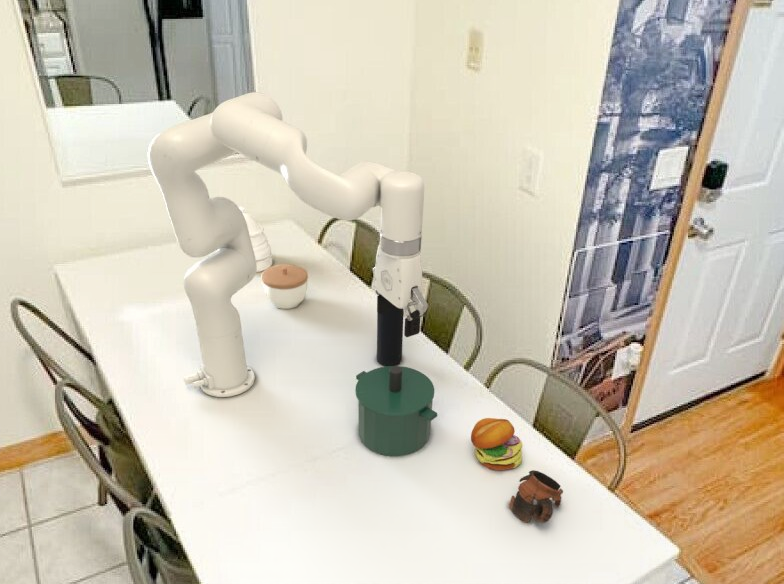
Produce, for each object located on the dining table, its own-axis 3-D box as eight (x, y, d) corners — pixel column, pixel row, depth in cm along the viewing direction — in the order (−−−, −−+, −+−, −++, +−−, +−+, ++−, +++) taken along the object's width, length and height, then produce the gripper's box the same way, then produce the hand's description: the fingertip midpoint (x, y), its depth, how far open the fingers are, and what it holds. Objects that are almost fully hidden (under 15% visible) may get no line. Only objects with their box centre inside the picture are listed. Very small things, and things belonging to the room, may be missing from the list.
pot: (406, 473, 131) (408, 431, 125) (335, 427, 142) (333, 386, 135) (453, 436, 141) (457, 395, 135) (383, 395, 152) (384, 355, 145)
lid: (397, 430, 126) (398, 405, 122) (338, 393, 134) (338, 370, 130) (450, 392, 136) (452, 369, 133) (392, 361, 145) (393, 338, 141)
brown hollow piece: (499, 496, 128) (519, 461, 126) (537, 509, 131) (557, 476, 130) (520, 531, 117) (542, 494, 115) (561, 545, 120) (583, 509, 119)
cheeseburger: (510, 482, 131) (505, 442, 126) (465, 470, 136) (458, 431, 132) (531, 453, 138) (527, 415, 133) (487, 443, 144) (482, 406, 139)
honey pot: (223, 269, 198) (215, 214, 188) (240, 252, 209) (234, 199, 198) (263, 275, 197) (257, 219, 186) (278, 257, 207) (273, 204, 197)
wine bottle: (398, 368, 161) (402, 260, 144) (373, 364, 162) (374, 256, 145) (404, 354, 166) (408, 248, 149) (380, 350, 167) (382, 245, 150)
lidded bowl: (318, 300, 186) (316, 266, 180) (288, 318, 177) (285, 283, 171) (286, 287, 191) (283, 254, 185) (255, 304, 182) (251, 269, 176)
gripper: (358, 229, 119) (358, 308, 129) (410, 266, 108) (406, 350, 118) (392, 221, 123) (390, 299, 133) (445, 256, 112) (439, 338, 122)
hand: (397, 323), depth 125 cm, fingers open, 9 cm apart
